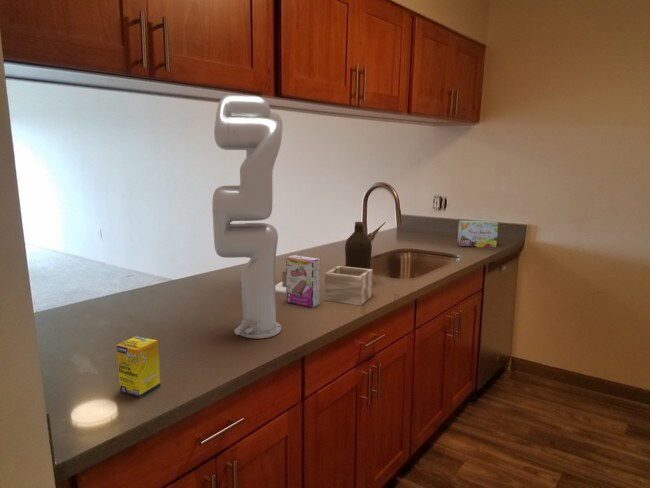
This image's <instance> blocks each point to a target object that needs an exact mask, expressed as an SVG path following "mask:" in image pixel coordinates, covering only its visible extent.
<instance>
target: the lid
mask: <svg viewBox="0 0 650 488" xmlns="http://www.w3.org/2000/svg"><path fill="white" fill-rule="evenodd" d="M281 272H282V276H281V277H282V278H281V279H282V281H280V282H279V283H277V284H275V293H285V294H286V269H285V270H282V271H281Z"/></svg>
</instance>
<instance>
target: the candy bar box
mask: <svg viewBox="0 0 650 488" xmlns="http://www.w3.org/2000/svg"><path fill="white" fill-rule="evenodd" d="M285 264H286V265H285V268H286V269H285V270H286V293H285V294H286V301H285V302H286V303H289V304H293V305H297V306H302V307H306V308H311V309H313V308H315V307H317V306H319V305H320V303H321V295H320V294H321V290H320V289H321V259H320V258H317V257H309V256H303V255H296V254H292V255H289V256H286V258H285Z"/></svg>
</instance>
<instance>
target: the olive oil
mask: <svg viewBox="0 0 650 488" xmlns="http://www.w3.org/2000/svg"><path fill="white" fill-rule="evenodd" d="M363 224H364V222H363V221H355V222H354V232H352V233H351V235H350V236H348V238H347V239H346V242H345V245H344V252H345V253H344V255H345V256H344V257H345V266H346V267H355V268H364V269H371V264H372V263H371V262H372V261H371V260H372V250H373V246H372V241H371V240H370V238H369V237H368V236H367V234H366V233H365V231H364V225H363Z"/></svg>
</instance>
